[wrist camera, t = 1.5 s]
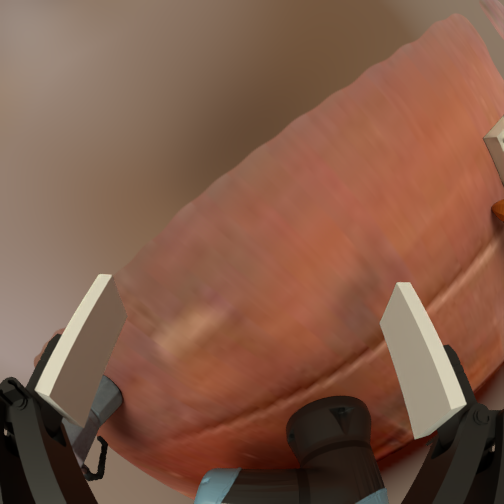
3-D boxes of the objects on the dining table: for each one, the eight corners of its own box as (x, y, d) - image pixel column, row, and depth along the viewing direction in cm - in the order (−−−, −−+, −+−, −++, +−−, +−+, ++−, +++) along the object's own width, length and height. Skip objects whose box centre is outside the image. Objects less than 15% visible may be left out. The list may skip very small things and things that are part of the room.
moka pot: (87, 350, 39) (24, 425, 20) (148, 411, 42) (111, 496, 23) (65, 367, 41) (10, 432, 21) (119, 422, 44) (83, 494, 24)
